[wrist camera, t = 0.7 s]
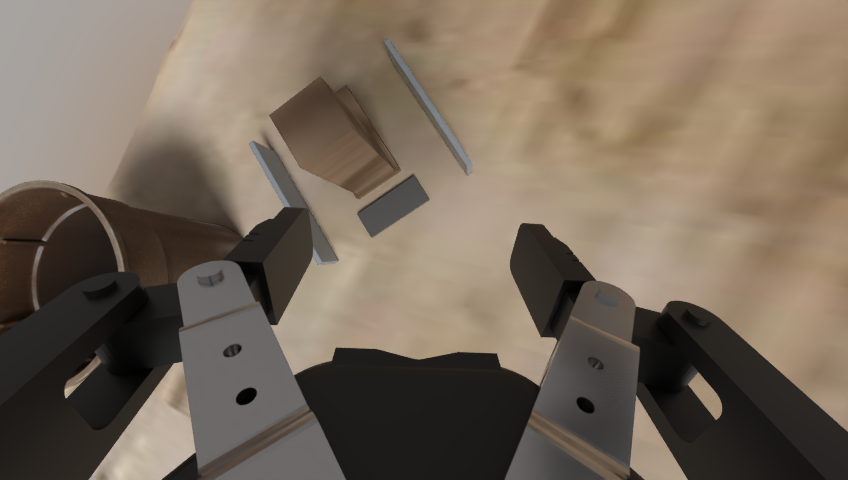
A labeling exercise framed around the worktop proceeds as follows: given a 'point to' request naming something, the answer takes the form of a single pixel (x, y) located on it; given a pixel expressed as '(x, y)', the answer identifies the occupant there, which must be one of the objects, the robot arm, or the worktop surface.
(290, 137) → the walnut post stand
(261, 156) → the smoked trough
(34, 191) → the plant pot
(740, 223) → the worktop surface
